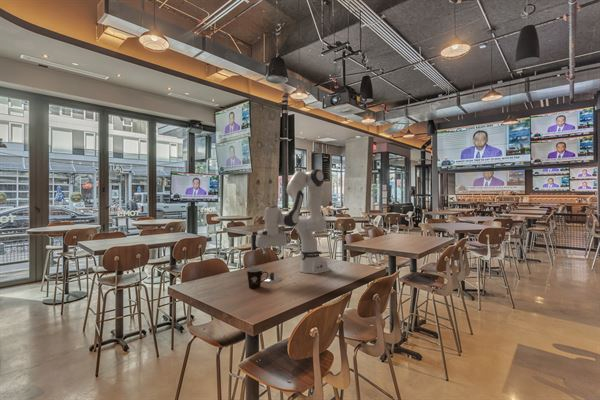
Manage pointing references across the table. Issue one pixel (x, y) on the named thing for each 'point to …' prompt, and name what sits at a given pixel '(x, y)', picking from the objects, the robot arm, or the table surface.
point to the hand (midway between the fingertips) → (271, 253)
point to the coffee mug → (255, 277)
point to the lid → (272, 278)
